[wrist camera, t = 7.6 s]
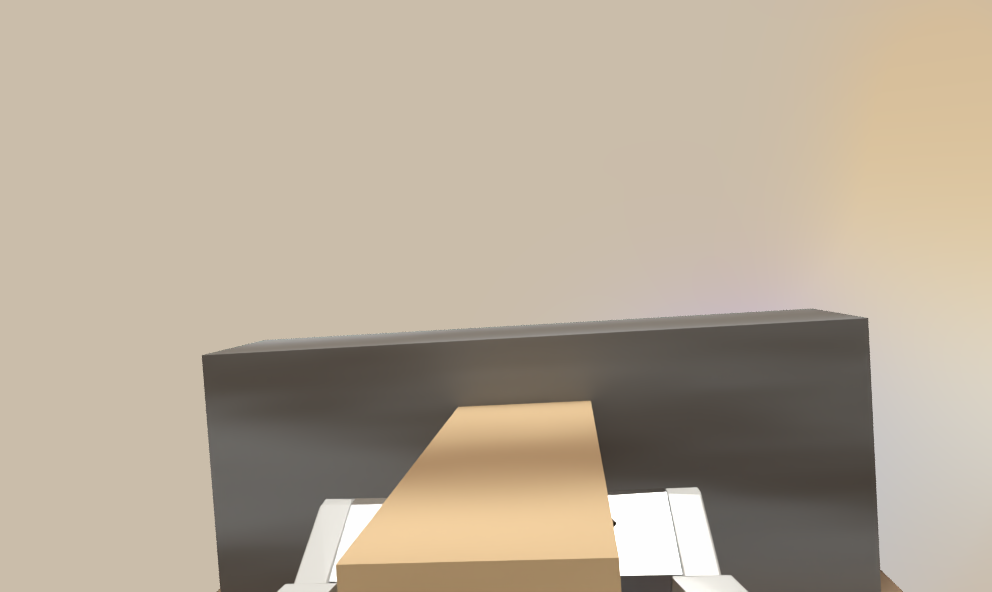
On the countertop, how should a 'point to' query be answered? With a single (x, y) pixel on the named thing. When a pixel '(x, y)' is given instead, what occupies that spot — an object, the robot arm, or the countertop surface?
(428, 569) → the t bar
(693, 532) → the robot arm
